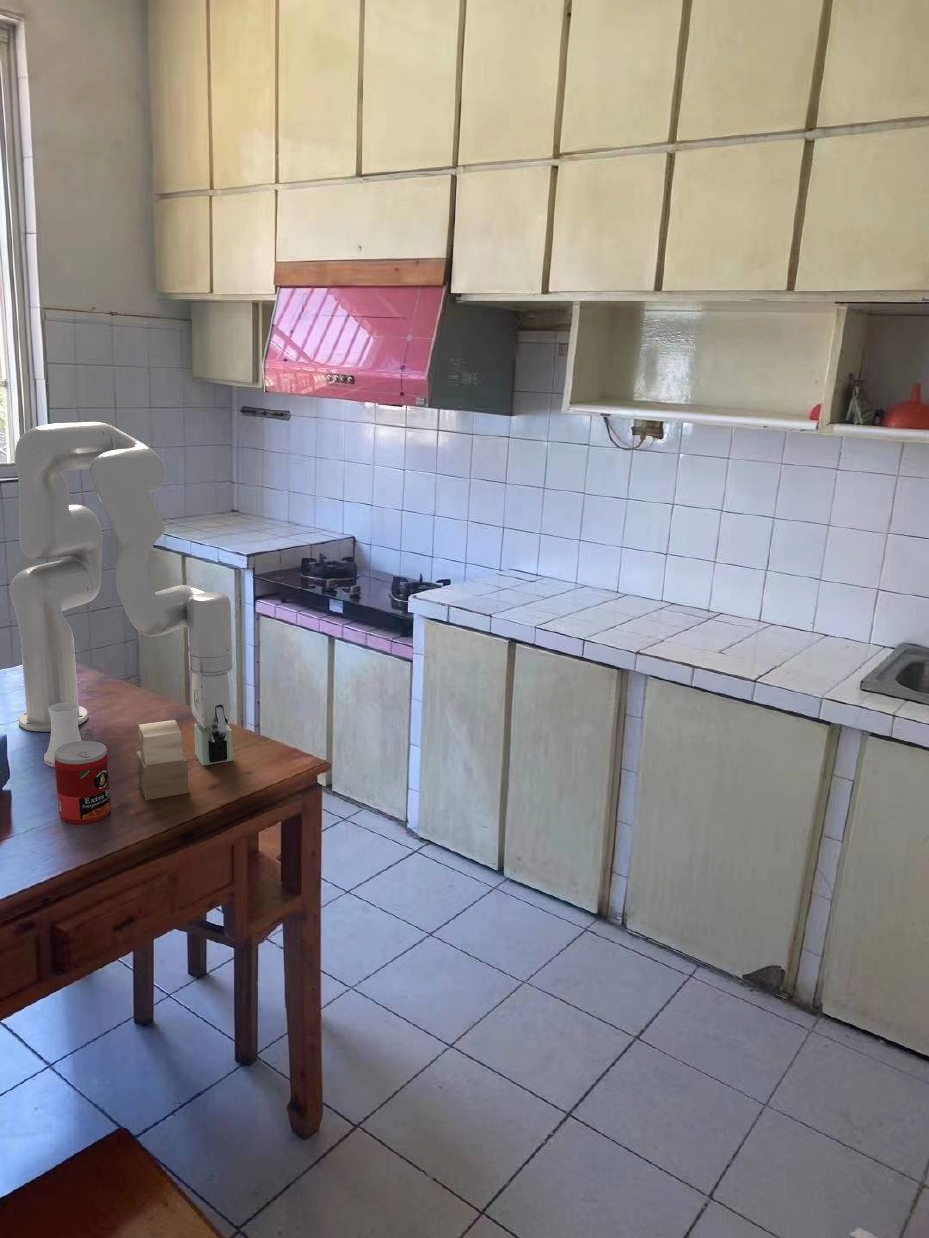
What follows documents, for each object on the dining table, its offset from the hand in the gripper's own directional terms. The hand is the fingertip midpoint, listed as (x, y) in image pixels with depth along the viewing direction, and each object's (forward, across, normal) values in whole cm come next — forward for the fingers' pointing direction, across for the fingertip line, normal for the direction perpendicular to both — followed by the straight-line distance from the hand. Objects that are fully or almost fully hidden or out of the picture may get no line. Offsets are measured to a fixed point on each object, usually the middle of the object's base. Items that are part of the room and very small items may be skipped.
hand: (213, 753), depth 170 cm
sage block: (+1, 0, 0) cm, 1 cm away
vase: (+1, -10, -24) cm, 26 cm away
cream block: (+1, +9, -11) cm, 14 cm away
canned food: (+1, +13, -24) cm, 27 cm away
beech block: (-5, +9, -11) cm, 15 cm away
